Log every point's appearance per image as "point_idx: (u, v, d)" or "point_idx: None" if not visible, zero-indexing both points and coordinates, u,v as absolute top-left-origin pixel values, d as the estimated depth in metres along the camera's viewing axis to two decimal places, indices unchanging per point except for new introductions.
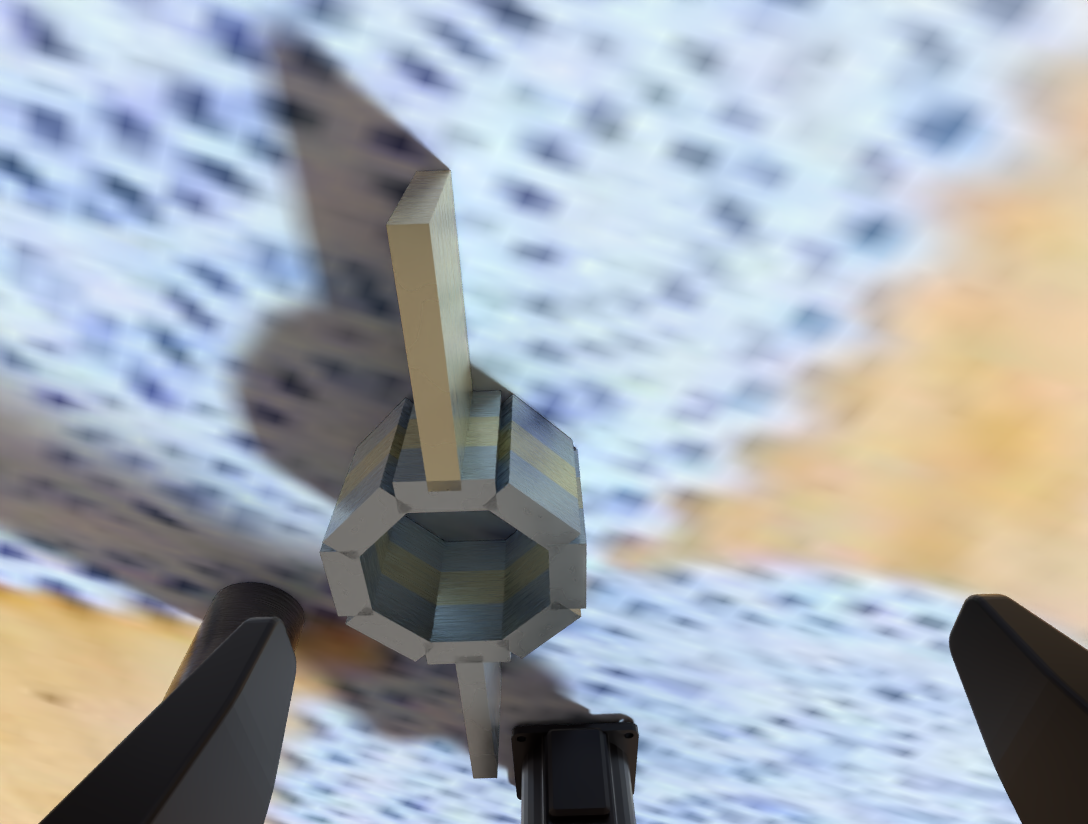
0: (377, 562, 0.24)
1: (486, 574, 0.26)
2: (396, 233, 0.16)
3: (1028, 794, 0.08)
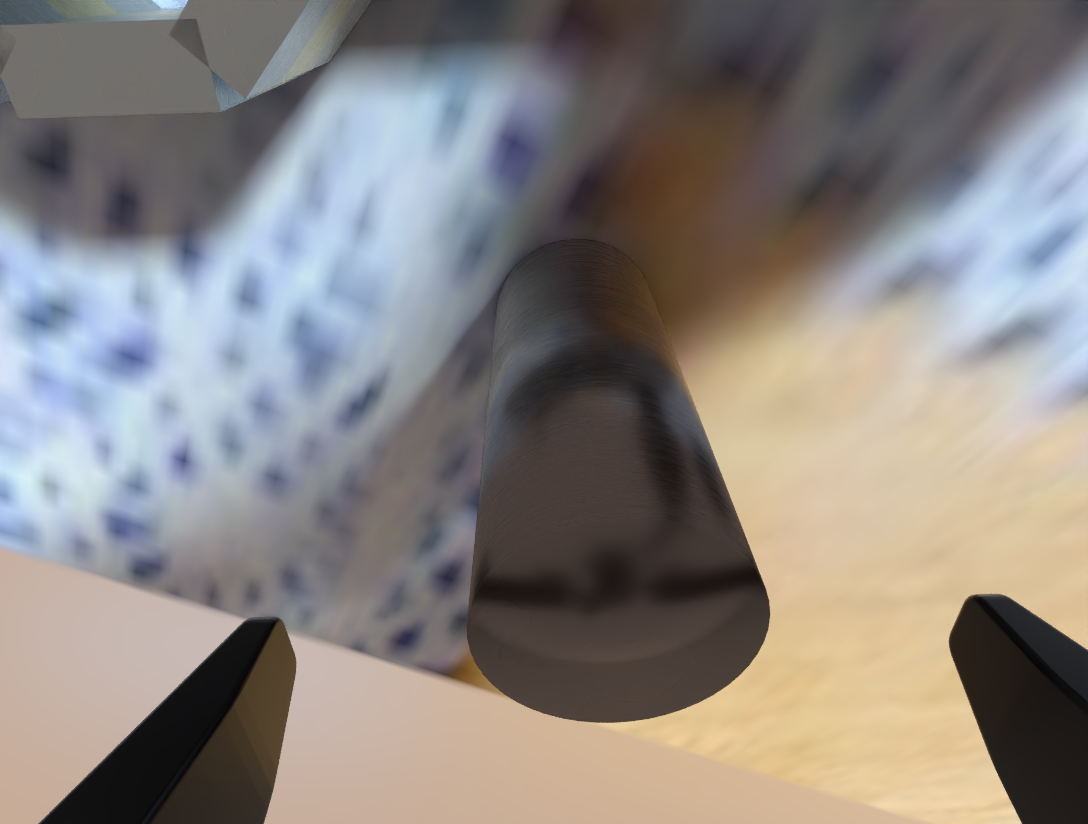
0: (175, 15, 0.11)
1: None
2: None
3: (1028, 794, 0.08)
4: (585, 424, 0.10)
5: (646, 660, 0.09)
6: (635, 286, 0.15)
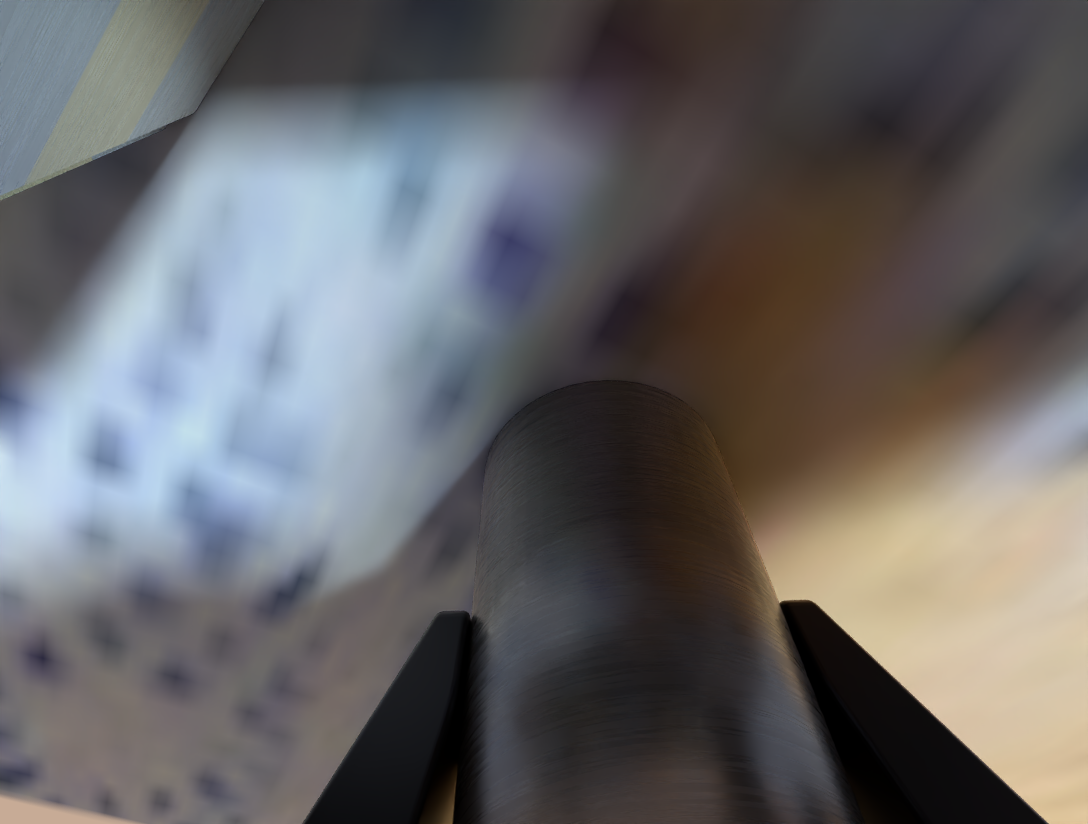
0: None
1: None
2: None
3: None
4: None
5: None
6: (710, 482, 0.09)
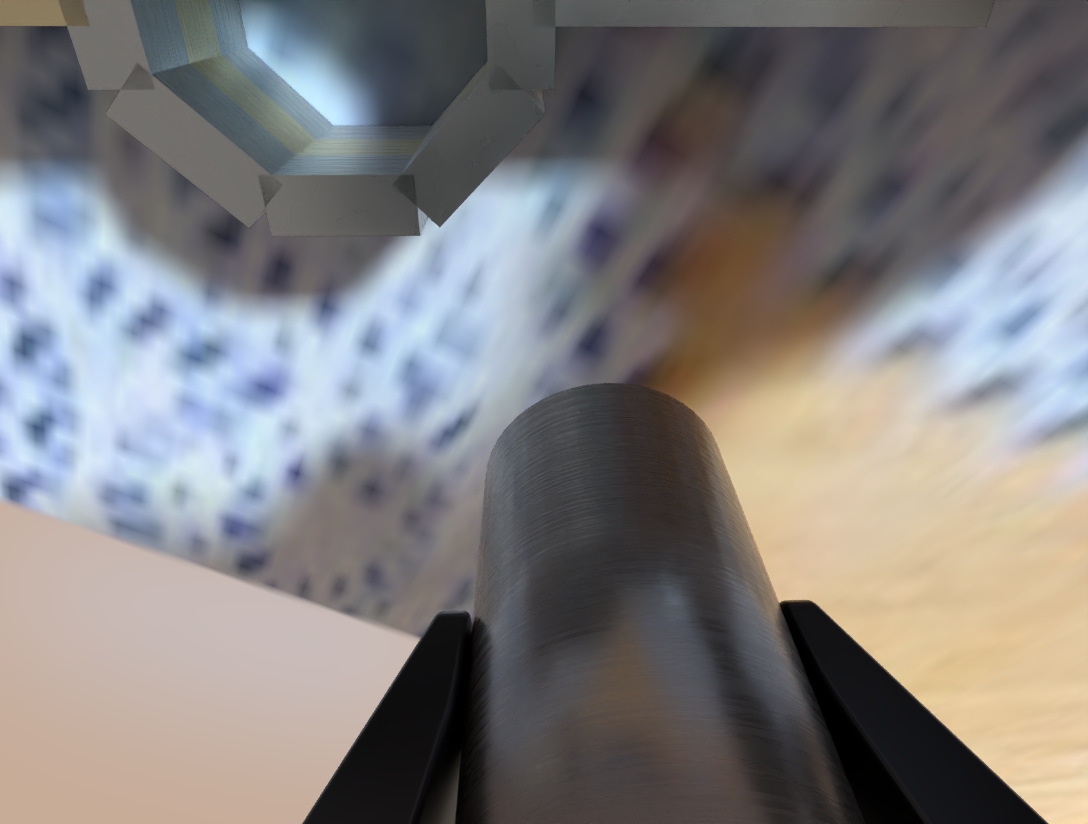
0: (379, 156, 0.14)
1: None
2: None
3: None
4: None
5: None
6: (711, 485, 0.09)
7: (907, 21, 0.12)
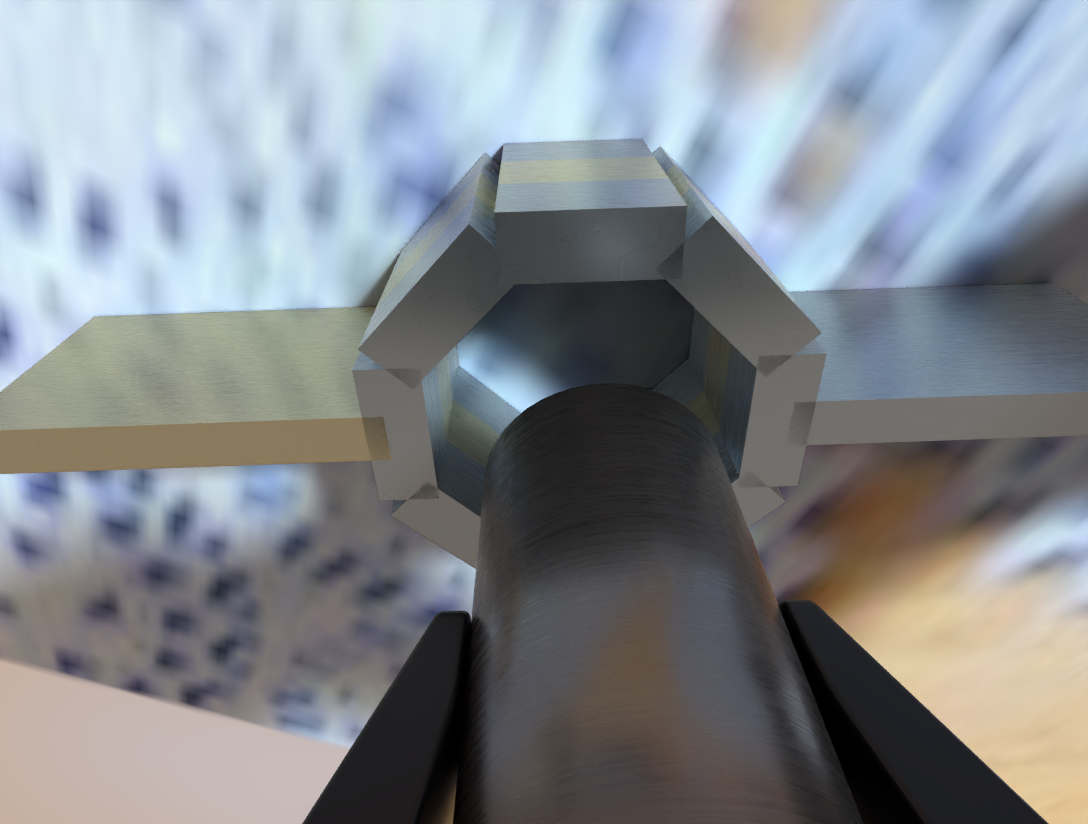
0: None
1: (712, 327, 0.15)
2: None
3: None
4: None
5: None
6: (710, 486, 0.09)
7: None
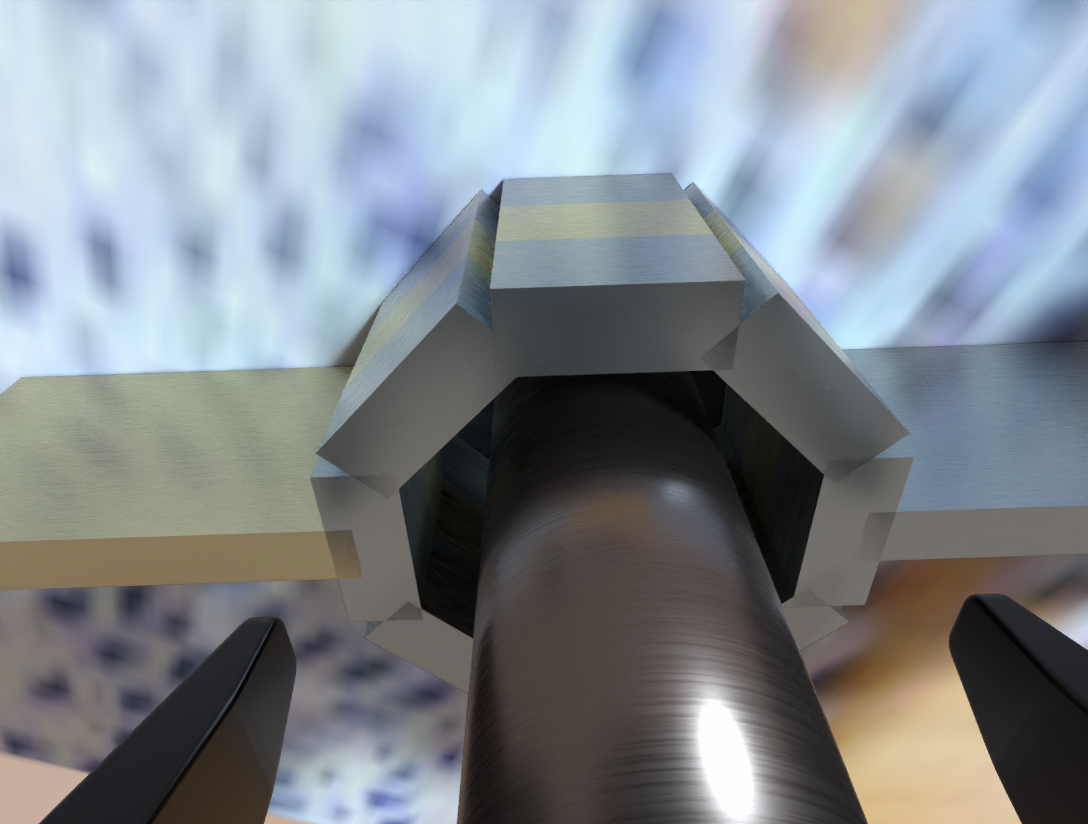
0: None
1: None
2: None
3: (1028, 794, 0.08)
4: (619, 615, 0.07)
5: None
6: None
7: None
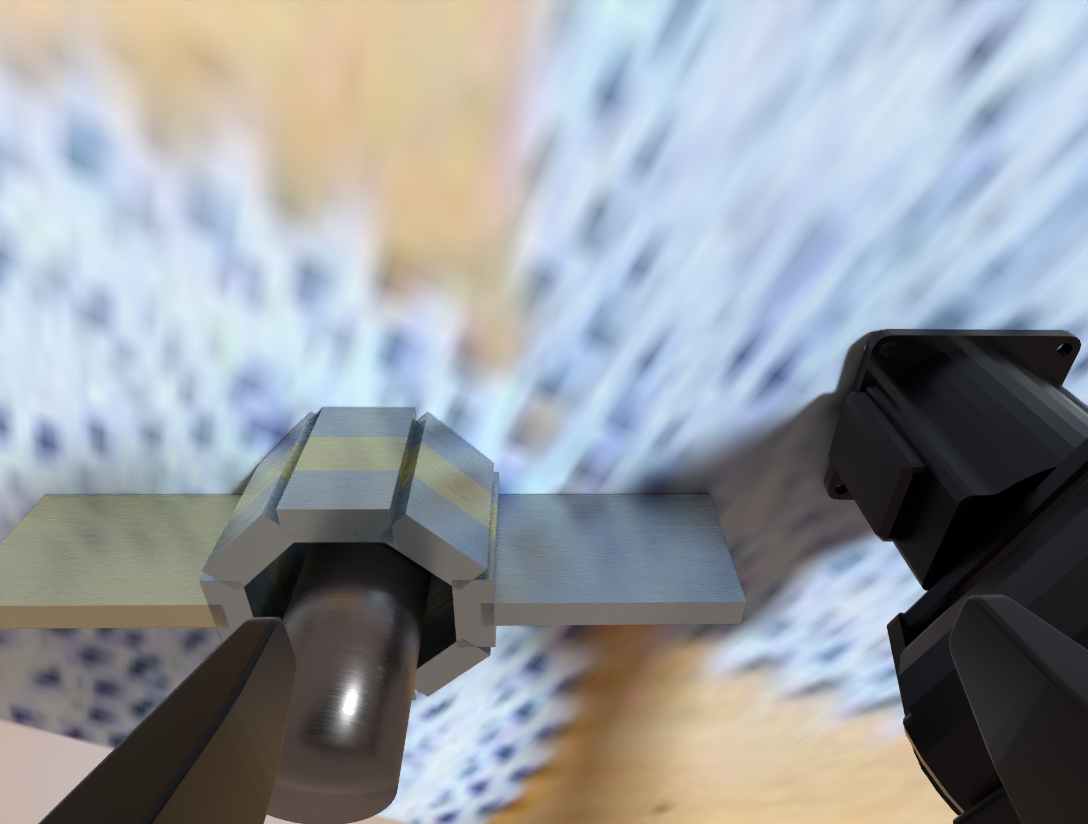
0: None
1: None
2: None
3: (1028, 794, 0.08)
4: (309, 658, 0.17)
5: (334, 795, 0.17)
6: None
7: (695, 622, 0.21)
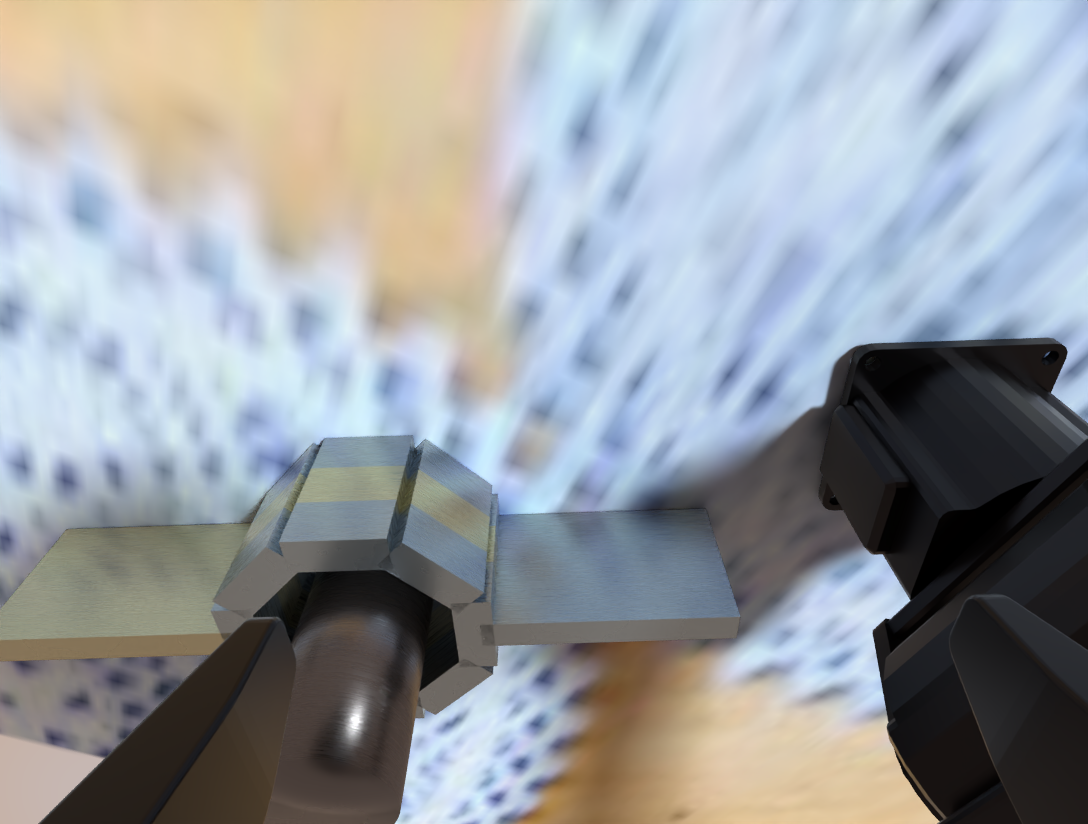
0: None
1: None
2: None
3: (1028, 794, 0.08)
4: (313, 684, 0.18)
5: (340, 816, 0.17)
6: None
7: (690, 638, 0.21)
